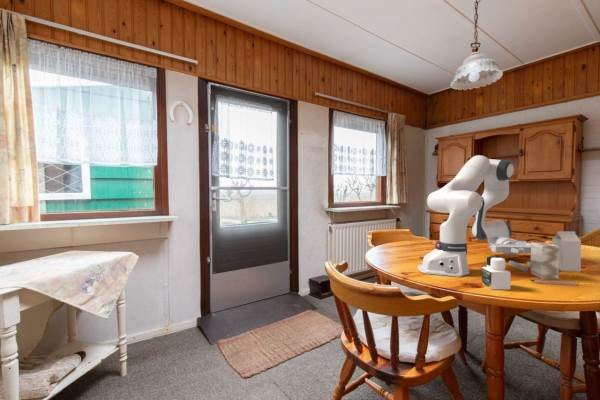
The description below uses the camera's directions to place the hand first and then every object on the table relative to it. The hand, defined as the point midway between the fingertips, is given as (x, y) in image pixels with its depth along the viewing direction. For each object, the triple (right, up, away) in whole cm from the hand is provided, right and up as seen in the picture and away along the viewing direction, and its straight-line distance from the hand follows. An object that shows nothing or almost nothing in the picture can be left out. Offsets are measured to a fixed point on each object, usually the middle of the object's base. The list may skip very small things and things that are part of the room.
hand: (521, 251), depth 137 cm
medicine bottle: (-32, -9, -27) cm, 43 cm away
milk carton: (+16, -8, -7) cm, 19 cm away
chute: (-3, -8, -12) cm, 15 cm away
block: (-4, -7, -18) cm, 20 cm away
